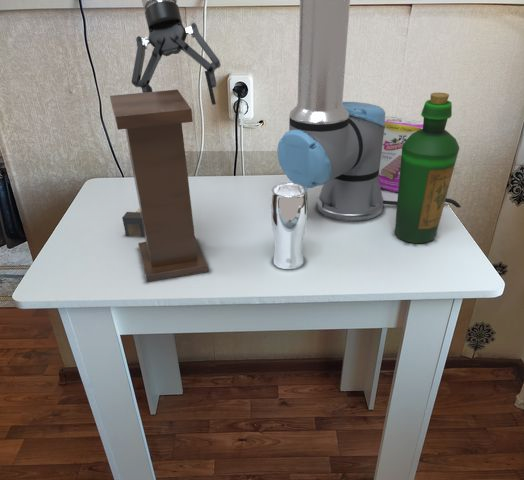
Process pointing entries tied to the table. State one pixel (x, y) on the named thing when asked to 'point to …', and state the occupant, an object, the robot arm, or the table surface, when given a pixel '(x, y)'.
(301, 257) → the beer glass
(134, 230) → the long wooden bar
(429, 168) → the bottle
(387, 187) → the candy bar box
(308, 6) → the robot arm
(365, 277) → the table surface
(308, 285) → the table surface
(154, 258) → the wooden pedestal stand
